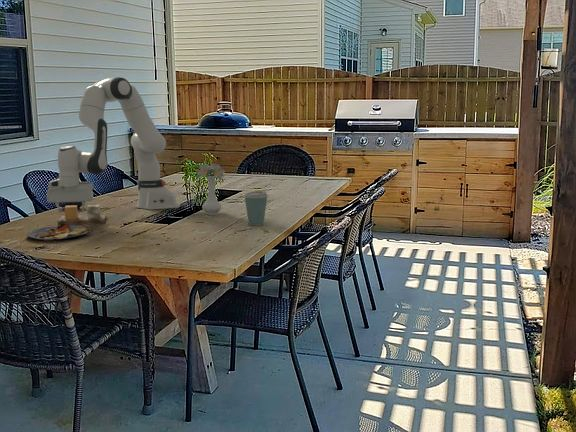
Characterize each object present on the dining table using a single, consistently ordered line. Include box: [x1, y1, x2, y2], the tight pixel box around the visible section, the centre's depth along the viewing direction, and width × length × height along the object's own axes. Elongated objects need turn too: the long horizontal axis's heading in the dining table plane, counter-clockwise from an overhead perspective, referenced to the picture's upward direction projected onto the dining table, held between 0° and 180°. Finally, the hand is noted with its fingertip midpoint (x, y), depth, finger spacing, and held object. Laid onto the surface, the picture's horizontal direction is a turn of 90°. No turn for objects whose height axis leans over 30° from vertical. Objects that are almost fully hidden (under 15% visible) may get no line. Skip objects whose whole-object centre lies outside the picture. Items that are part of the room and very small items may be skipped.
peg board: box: [57, 204, 107, 226], centre depth 301 cm, size 20×14×7 cm
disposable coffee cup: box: [243, 190, 268, 227], centre depth 294 cm, size 11×11×15 cm
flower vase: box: [196, 162, 226, 216], centre depth 319 cm, size 13×18×25 cm
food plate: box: [25, 224, 91, 242], centre depth 270 cm, size 25×23×4 cm
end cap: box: [60, 202, 83, 211], centre depth 332 cm, size 10×7×7 cm
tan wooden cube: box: [64, 205, 79, 219], centre depth 300 cm, size 5×5×6 cm
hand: (71, 211), depth 300 cm, fingers open, 8 cm apart
